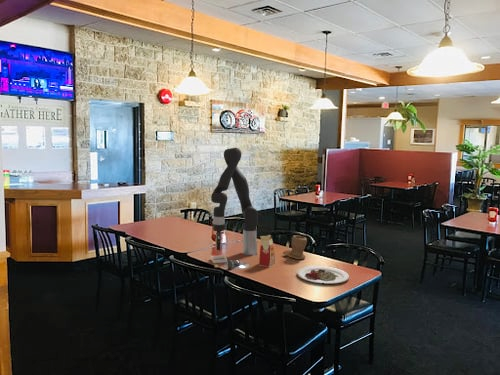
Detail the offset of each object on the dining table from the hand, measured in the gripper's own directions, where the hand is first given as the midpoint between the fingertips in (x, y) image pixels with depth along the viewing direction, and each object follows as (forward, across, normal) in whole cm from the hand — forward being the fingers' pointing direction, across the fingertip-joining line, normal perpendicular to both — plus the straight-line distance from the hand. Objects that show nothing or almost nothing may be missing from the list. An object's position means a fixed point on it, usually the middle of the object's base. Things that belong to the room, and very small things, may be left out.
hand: (218, 248), depth 266 cm
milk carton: (+8, +9, +31) cm, 33 cm away
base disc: (+8, +11, +9) cm, 16 cm away
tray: (+8, 0, 0) cm, 8 cm away
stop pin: (+1, 0, 0) cm, 1 cm away
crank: (+8, +14, +10) cm, 19 cm away
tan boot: (+8, -8, +53) cm, 54 cm away
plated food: (+8, +31, +61) cm, 69 cm away
